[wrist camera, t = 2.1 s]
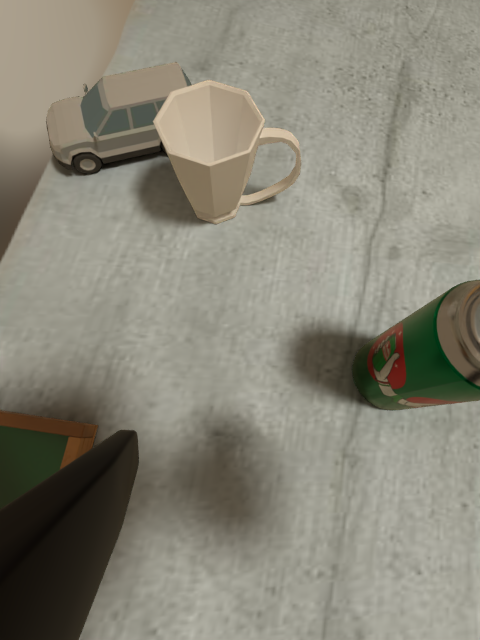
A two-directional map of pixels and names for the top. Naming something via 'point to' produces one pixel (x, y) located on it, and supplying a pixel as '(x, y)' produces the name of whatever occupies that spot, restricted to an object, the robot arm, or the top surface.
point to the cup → (218, 147)
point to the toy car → (112, 118)
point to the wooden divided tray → (37, 450)
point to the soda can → (425, 355)
